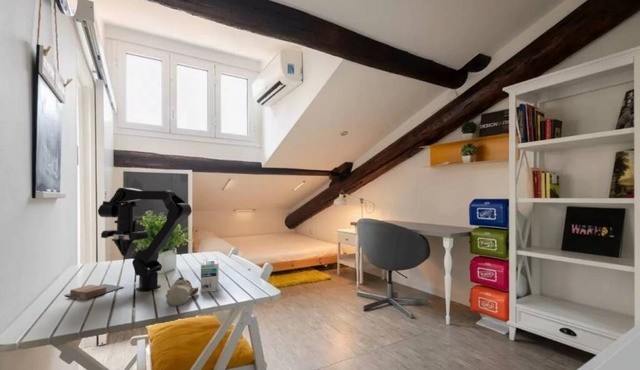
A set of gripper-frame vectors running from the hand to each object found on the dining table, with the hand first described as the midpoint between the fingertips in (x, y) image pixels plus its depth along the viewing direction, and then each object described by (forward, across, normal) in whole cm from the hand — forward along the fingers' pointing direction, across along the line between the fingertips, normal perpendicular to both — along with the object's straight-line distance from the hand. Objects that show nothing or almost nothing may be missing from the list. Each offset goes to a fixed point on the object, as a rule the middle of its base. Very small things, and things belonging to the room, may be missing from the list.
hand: (124, 255), depth 120 cm
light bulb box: (+13, -35, -8) cm, 38 cm away
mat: (+13, +5, +7) cm, 16 cm away
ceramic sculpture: (+13, -34, +7) cm, 37 cm away
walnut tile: (+12, -1, +11) cm, 16 cm away
